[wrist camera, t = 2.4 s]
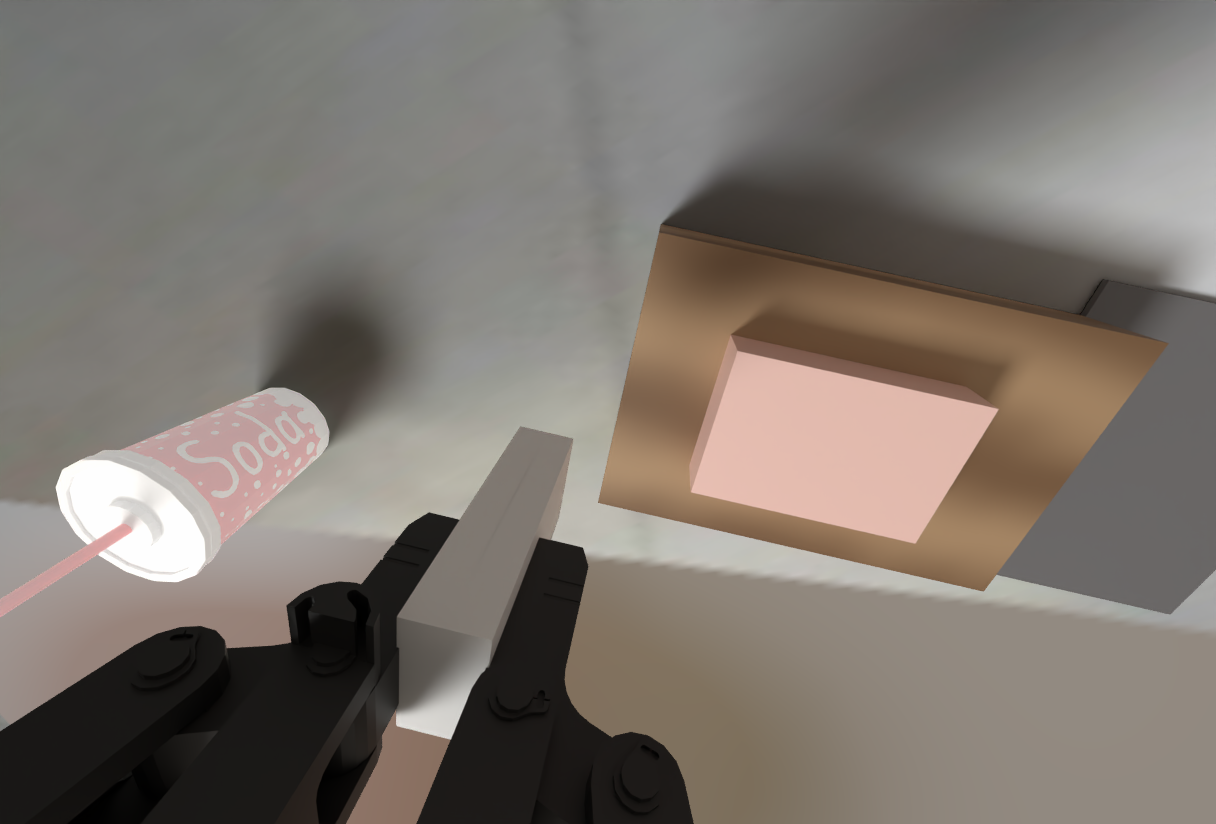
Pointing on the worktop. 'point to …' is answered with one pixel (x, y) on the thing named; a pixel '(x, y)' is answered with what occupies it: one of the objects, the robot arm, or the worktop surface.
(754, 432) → the block
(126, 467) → the beverage cup
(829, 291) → the brown wooden slab
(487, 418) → the worktop surface
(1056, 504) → the mat
